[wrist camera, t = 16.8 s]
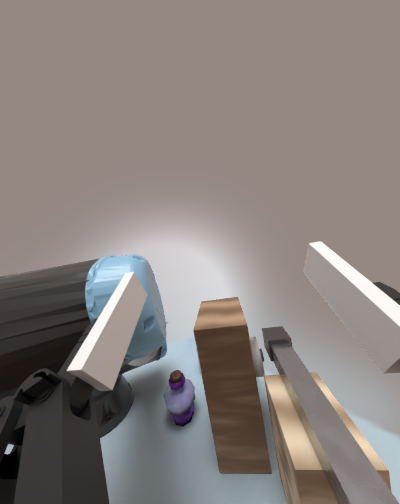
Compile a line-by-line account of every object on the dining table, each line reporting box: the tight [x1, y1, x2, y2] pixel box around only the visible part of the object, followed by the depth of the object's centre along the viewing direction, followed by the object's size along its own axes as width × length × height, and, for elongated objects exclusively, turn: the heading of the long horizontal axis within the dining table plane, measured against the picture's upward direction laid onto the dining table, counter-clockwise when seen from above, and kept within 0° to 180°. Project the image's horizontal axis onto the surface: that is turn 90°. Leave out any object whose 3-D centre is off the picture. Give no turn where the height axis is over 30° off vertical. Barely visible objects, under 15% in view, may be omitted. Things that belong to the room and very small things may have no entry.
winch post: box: [194, 297, 272, 474], centre depth 37 cm, size 14×13×30 cm
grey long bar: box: [262, 326, 399, 504], centre depth 23 cm, size 26×4×4 cm, turn 174°
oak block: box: [264, 372, 391, 504], centre depth 23 cm, size 12×9×20 cm
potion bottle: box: [164, 370, 195, 426], centre depth 43 cm, size 9×9×12 cm
